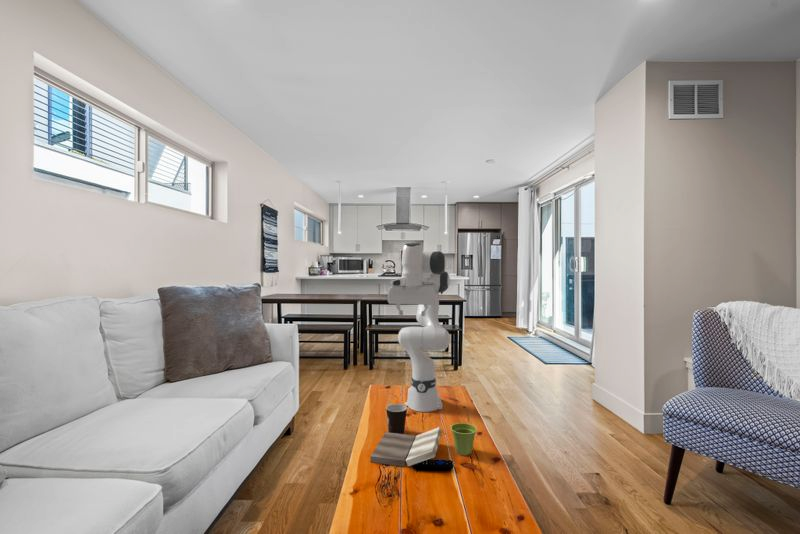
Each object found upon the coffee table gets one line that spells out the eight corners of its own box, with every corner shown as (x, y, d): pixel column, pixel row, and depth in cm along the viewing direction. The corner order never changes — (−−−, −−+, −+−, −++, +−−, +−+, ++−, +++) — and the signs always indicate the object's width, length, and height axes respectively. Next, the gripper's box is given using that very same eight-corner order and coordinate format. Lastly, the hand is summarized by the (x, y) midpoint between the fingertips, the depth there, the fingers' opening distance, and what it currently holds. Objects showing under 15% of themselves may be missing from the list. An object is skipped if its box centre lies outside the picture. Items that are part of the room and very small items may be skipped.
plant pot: (476, 459, 129) (476, 434, 129) (449, 456, 131) (449, 431, 131) (477, 447, 138) (477, 424, 138) (451, 444, 140) (452, 421, 141)
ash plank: (418, 440, 143) (416, 435, 143) (441, 432, 141) (439, 427, 141) (408, 466, 124) (405, 460, 124) (434, 457, 122) (432, 451, 122)
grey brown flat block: (385, 437, 146) (385, 432, 146) (415, 440, 143) (415, 435, 143) (370, 462, 127) (370, 456, 127) (404, 466, 124) (404, 460, 124)
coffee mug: (404, 437, 146) (404, 412, 146) (383, 435, 147) (383, 410, 148) (409, 426, 157) (410, 402, 157) (390, 424, 159) (390, 401, 159)
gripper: (438, 282, 152) (438, 315, 152) (390, 281, 157) (390, 313, 157) (436, 282, 146) (436, 317, 146) (386, 281, 151) (386, 315, 150)
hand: (412, 315), depth 151 cm, fingers open, 8 cm apart
